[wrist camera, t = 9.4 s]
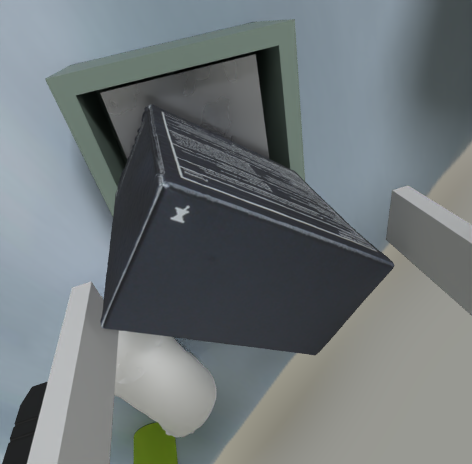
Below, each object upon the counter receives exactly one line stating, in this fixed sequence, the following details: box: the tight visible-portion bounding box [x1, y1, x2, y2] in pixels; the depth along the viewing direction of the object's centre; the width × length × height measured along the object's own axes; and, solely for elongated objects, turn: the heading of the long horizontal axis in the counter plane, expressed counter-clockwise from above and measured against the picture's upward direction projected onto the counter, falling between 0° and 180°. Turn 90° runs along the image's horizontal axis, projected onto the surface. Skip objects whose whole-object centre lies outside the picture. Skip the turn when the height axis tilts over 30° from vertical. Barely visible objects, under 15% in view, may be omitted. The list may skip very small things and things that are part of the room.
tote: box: [45, 19, 305, 216], centre depth 23 cm, size 13×16×7 cm
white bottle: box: [101, 296, 217, 437], centre depth 32 cm, size 8×19×8 cm, turn 24°
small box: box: [100, 104, 394, 355], centre depth 16 cm, size 11×6×10 cm, turn 62°
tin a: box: [100, 53, 269, 159], centre depth 22 cm, size 9×6×5 cm
